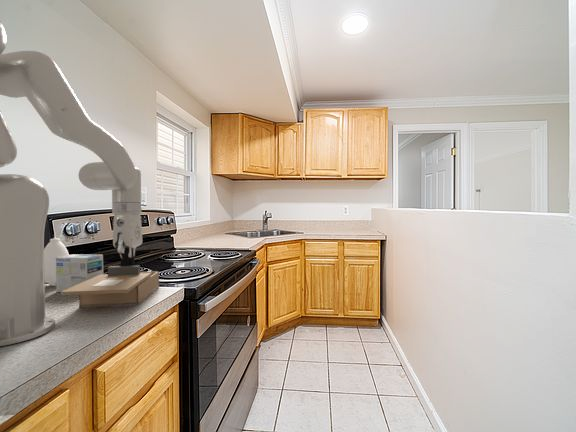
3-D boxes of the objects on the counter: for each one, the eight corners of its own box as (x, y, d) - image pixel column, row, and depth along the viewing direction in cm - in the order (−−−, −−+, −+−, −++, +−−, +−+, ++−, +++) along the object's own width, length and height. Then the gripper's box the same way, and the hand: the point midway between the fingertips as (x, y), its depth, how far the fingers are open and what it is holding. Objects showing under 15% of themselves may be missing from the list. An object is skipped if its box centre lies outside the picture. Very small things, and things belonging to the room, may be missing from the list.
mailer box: (138, 305, 75) (138, 286, 75) (79, 307, 73) (79, 288, 73) (158, 286, 93) (158, 271, 93) (111, 288, 91) (111, 272, 91)
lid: (126, 292, 68) (126, 279, 68) (60, 295, 66) (60, 281, 66) (151, 275, 86) (151, 264, 86) (100, 277, 84) (100, 266, 84)
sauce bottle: (76, 282, 98) (75, 229, 98) (55, 289, 91) (54, 231, 90) (56, 282, 99) (55, 229, 99) (33, 288, 92) (32, 231, 91)
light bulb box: (104, 287, 92) (104, 253, 92) (88, 293, 86) (87, 257, 86) (73, 286, 94) (73, 253, 93) (54, 292, 87) (54, 256, 87)
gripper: (130, 208, 79) (131, 276, 79) (148, 208, 93) (149, 265, 94) (100, 208, 78) (101, 277, 78) (124, 208, 92) (124, 266, 93)
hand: (127, 270), depth 86 cm, fingers closed
